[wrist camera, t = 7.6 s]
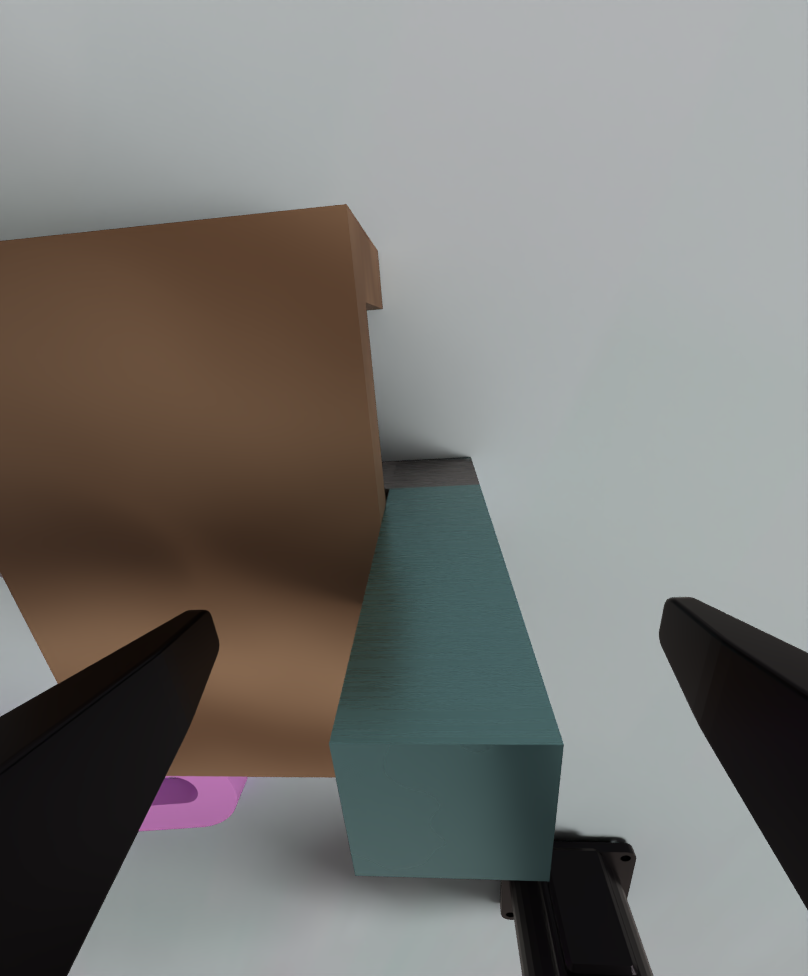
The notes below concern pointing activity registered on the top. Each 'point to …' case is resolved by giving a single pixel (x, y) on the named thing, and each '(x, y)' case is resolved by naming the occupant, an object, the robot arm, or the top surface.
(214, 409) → the stand
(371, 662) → the teal angled piece
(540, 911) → the robot arm
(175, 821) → the bracket
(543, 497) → the top surface
